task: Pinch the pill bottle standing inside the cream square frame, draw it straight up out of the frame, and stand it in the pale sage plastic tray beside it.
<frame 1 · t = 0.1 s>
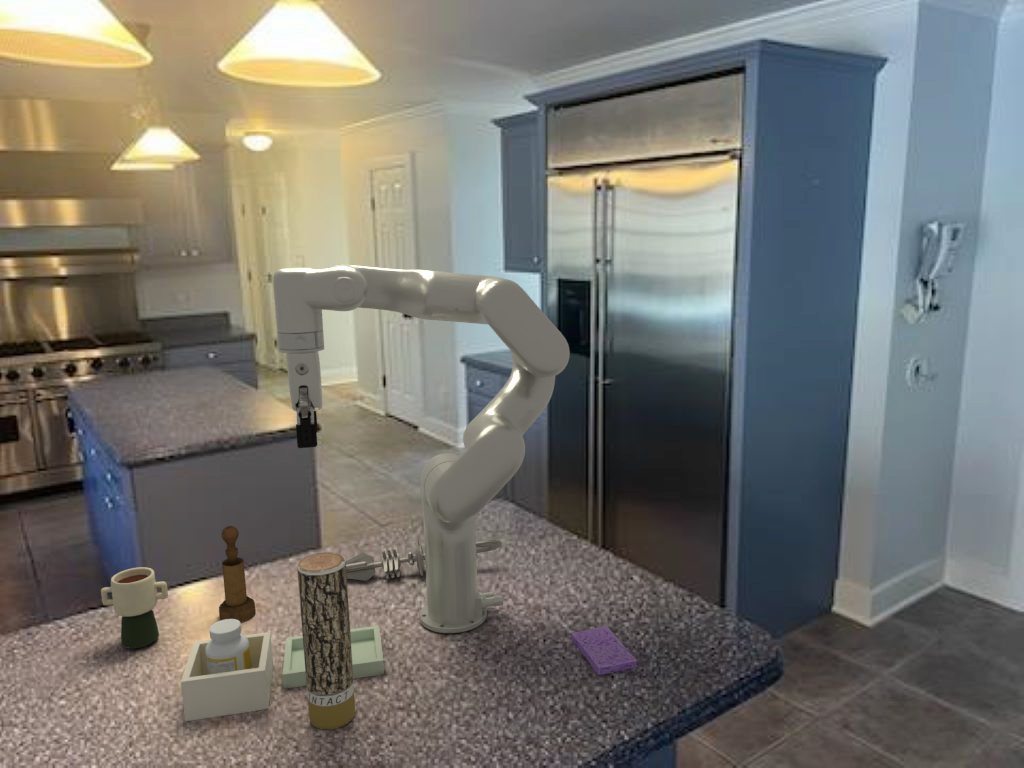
hand: (308, 439, 134), 37 cm above the countertop, fingers open, 9 cm apart
spaceship: (421, 575, 165), on the countertop
cream square frame: (231, 692, 123), on the countertop
tray: (334, 662, 132), on the countertop
sponges: (602, 655, 133), on the countertop
pill bottle: (232, 694, 123), resting in cream square frame
character mug: (140, 643, 140), on the countertop
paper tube: (332, 719, 116), on the countertop
mortar and pestle: (237, 616, 149), on the countertop
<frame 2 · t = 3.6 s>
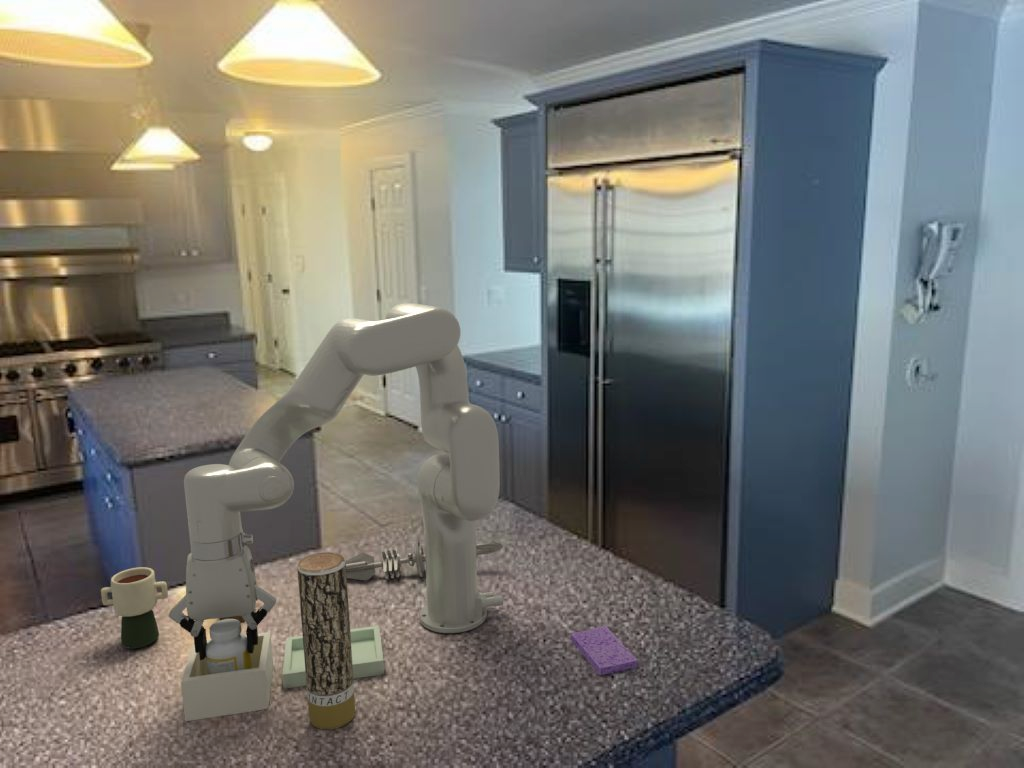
hand: (227, 651, 122), 7 cm above the countertop, fingers closed on pill bottle, 6 cm apart
pill bottle: (232, 693, 123), resting in cream square frame, touching gripper
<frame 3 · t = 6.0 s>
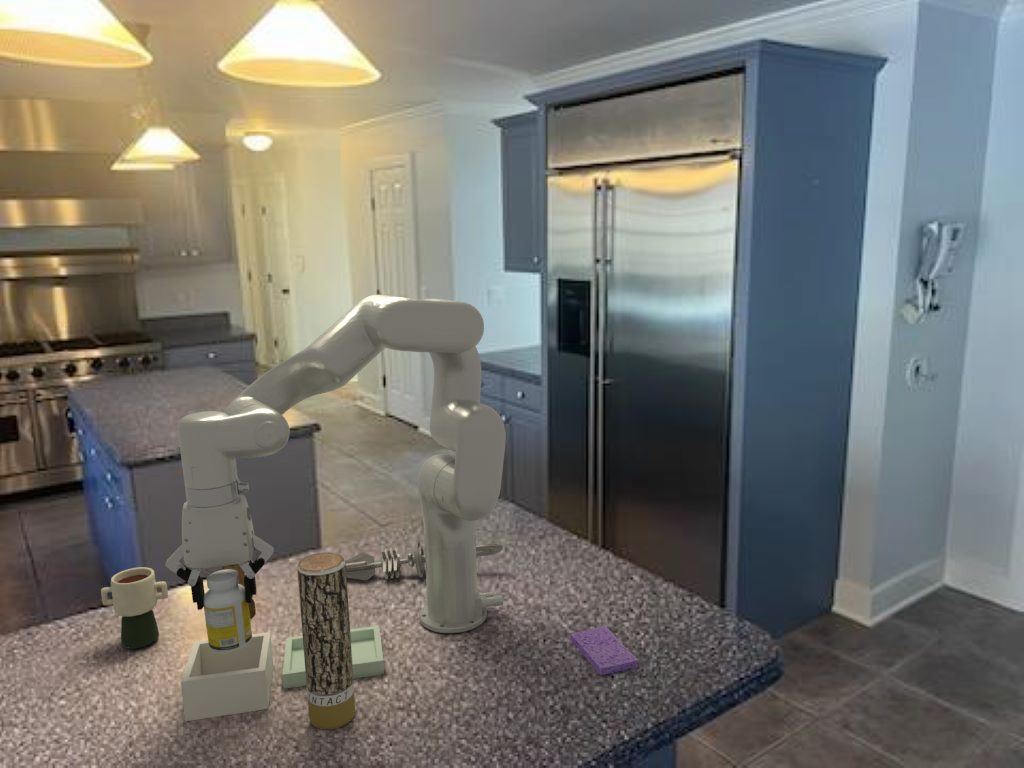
hand: (225, 601, 121), 16 cm above the countertop, fingers closed on pill bottle, 6 cm apart
pill bottle: (231, 645, 122), point 8 cm above the countertop, touching gripper
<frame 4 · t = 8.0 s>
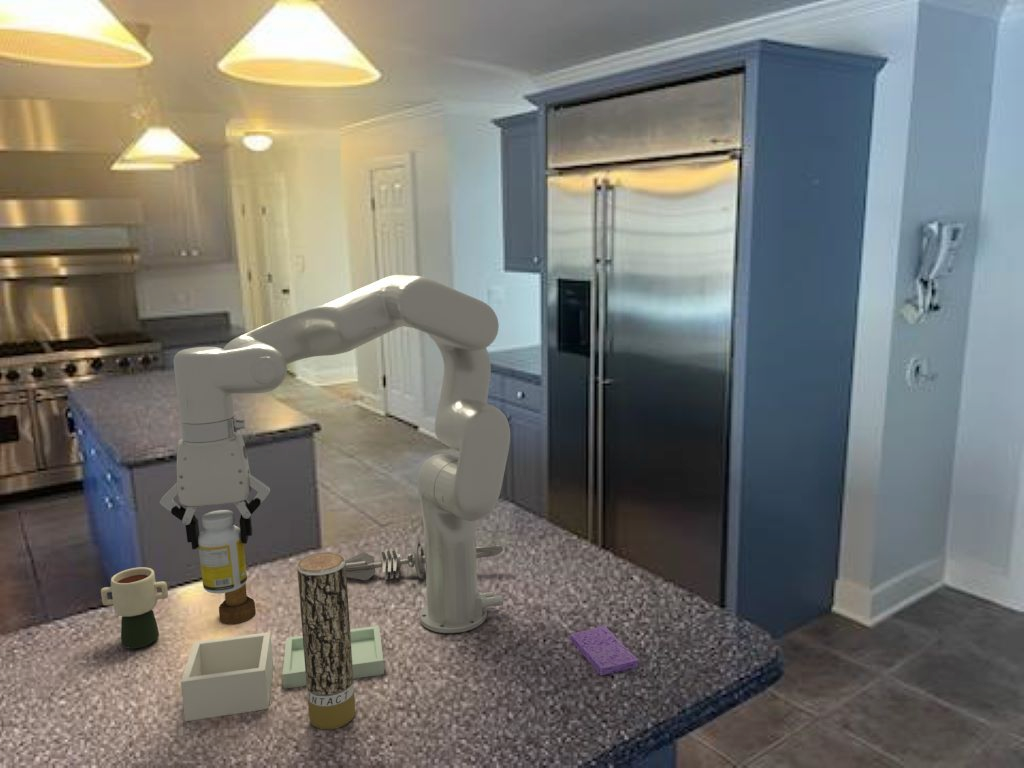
hand: (220, 542, 119), 25 cm above the countertop, fingers closed on pill bottle, 6 cm apart
pill bottle: (225, 587, 120), point 18 cm above the countertop, touching gripper
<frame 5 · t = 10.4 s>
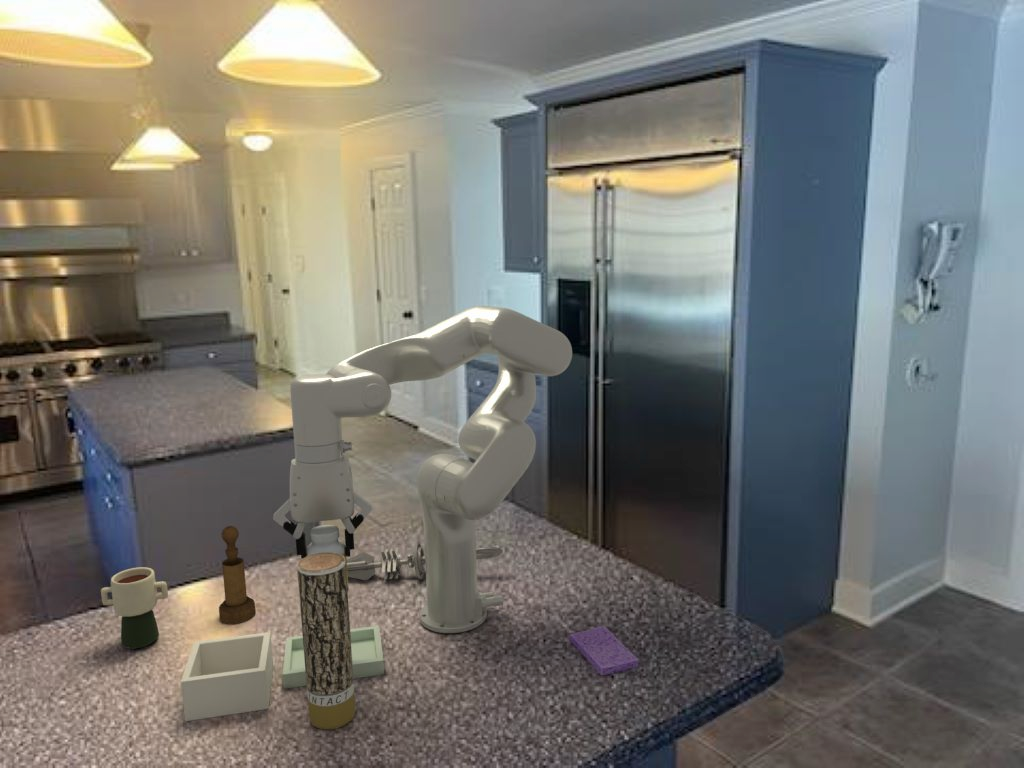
hand: (326, 555, 128), 19 cm above the countertop, fingers closed on pill bottle, 6 cm apart
pill bottle: (329, 596, 129), point 12 cm above the countertop, touching gripper
when the fingers open (9 cm above the countertop, at t = 12.7 s): pill bottle drops 1 cm, resting on tray.
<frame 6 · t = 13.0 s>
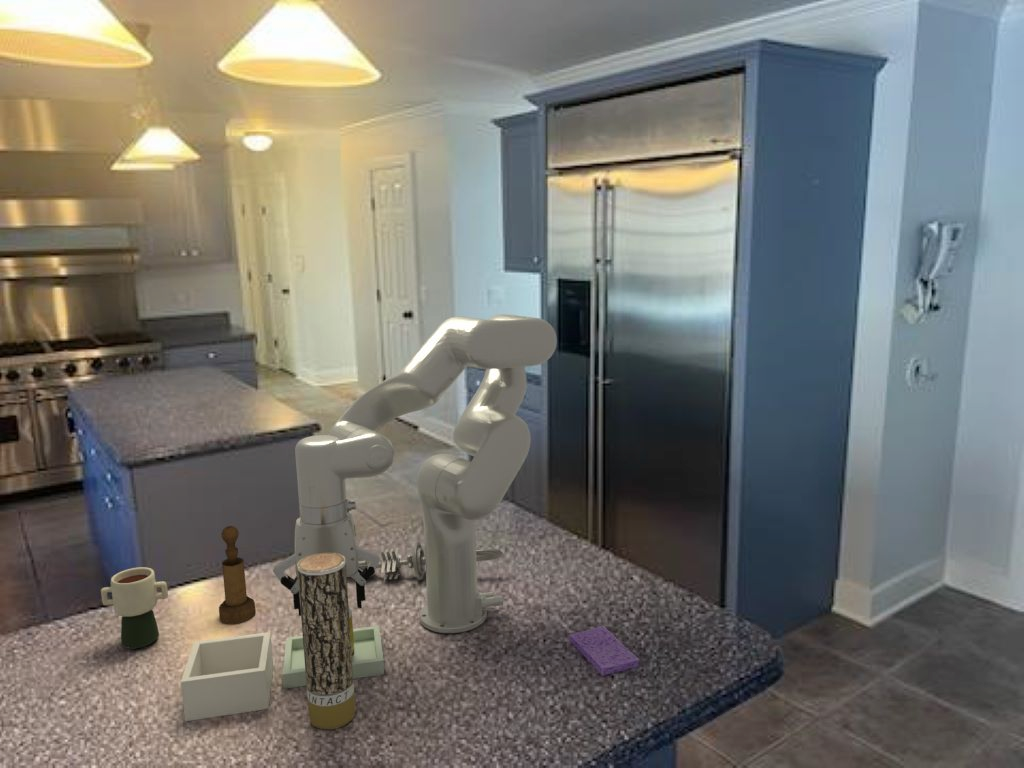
hand: (330, 608, 130), 10 cm above the countertop, fingers open, 9 cm apart
pill bottle: (335, 659, 132), resting on tray
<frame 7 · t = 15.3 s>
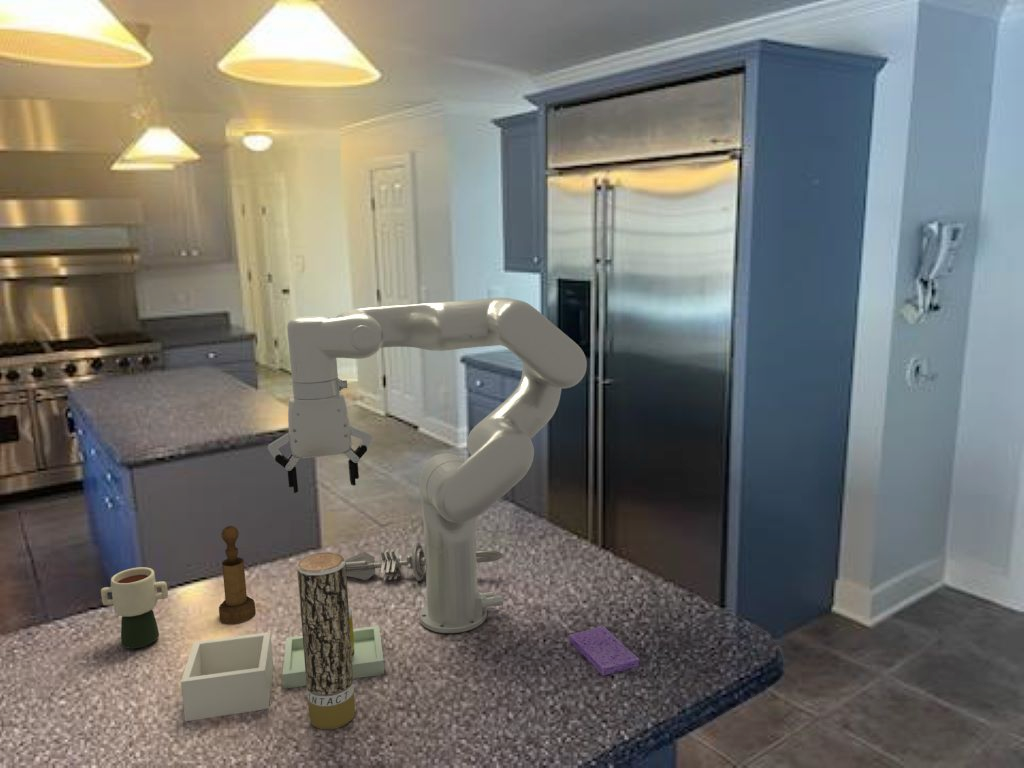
hand: (324, 486, 134), 29 cm above the countertop, fingers open, 9 cm apart
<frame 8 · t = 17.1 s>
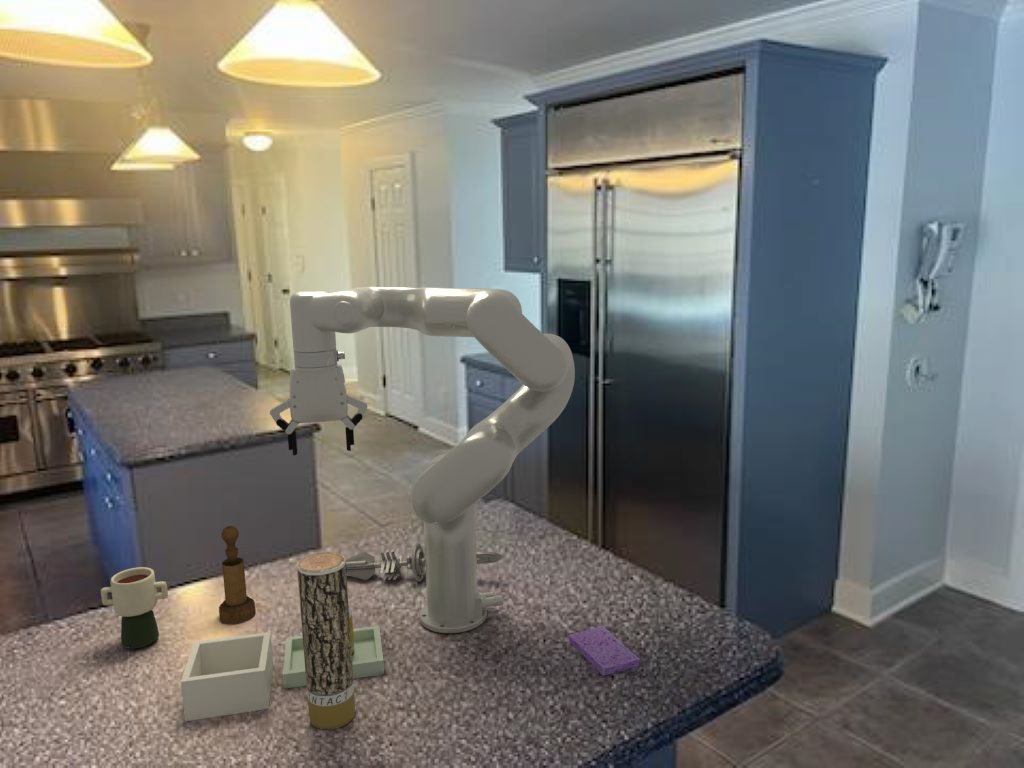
hand: (322, 451, 143), 32 cm above the countertop, fingers open, 9 cm apart
at the end: pill bottle inside the target area on the tray (0.2 cm from its centre), point 0.4 cm above the tray's base; pill bottle tilted 0°; the gripper is holding nothing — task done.
